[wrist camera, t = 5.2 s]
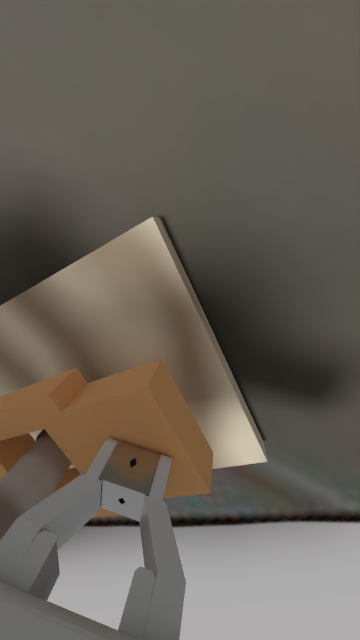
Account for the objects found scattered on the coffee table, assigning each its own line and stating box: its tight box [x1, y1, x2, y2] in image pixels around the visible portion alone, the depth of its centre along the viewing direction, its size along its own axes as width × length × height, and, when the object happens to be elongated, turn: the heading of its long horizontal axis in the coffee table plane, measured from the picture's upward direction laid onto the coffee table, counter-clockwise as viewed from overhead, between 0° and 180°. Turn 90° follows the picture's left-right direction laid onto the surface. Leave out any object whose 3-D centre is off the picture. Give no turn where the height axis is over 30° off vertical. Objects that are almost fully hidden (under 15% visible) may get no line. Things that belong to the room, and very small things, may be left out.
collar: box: [0, 358, 213, 517], centre depth 12 cm, size 12×8×2 cm, turn 116°
